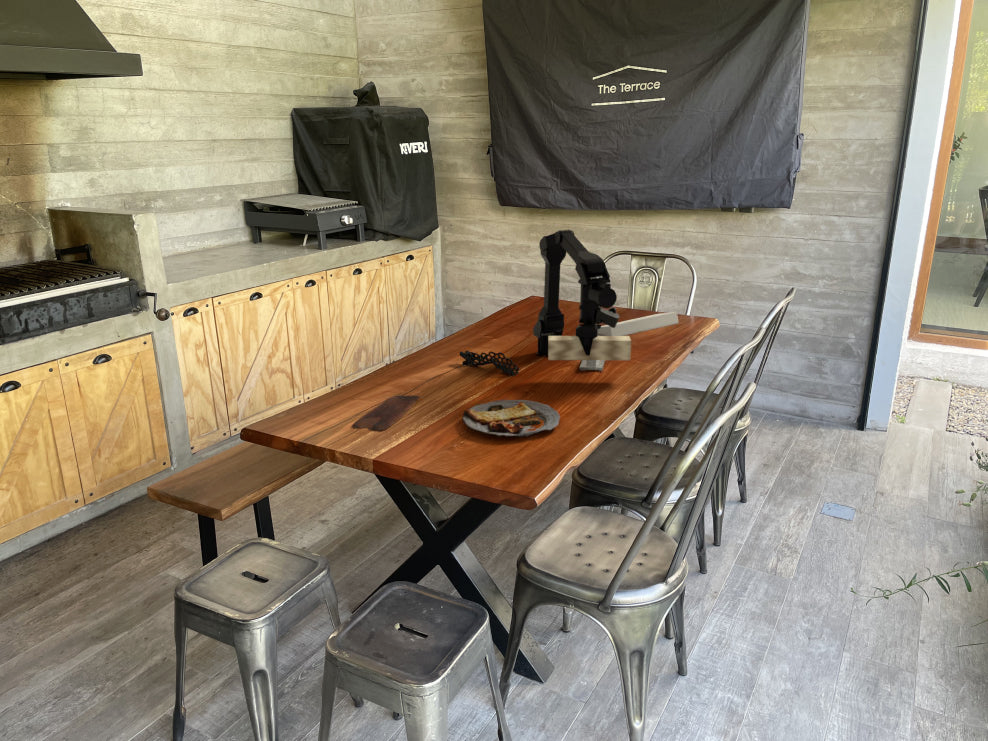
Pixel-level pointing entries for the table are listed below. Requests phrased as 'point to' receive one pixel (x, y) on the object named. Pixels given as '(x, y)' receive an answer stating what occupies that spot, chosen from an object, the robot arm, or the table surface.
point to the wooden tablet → (386, 413)
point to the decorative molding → (640, 324)
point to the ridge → (592, 365)
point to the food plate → (510, 417)
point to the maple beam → (599, 351)
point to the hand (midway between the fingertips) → (588, 352)
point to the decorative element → (489, 361)
